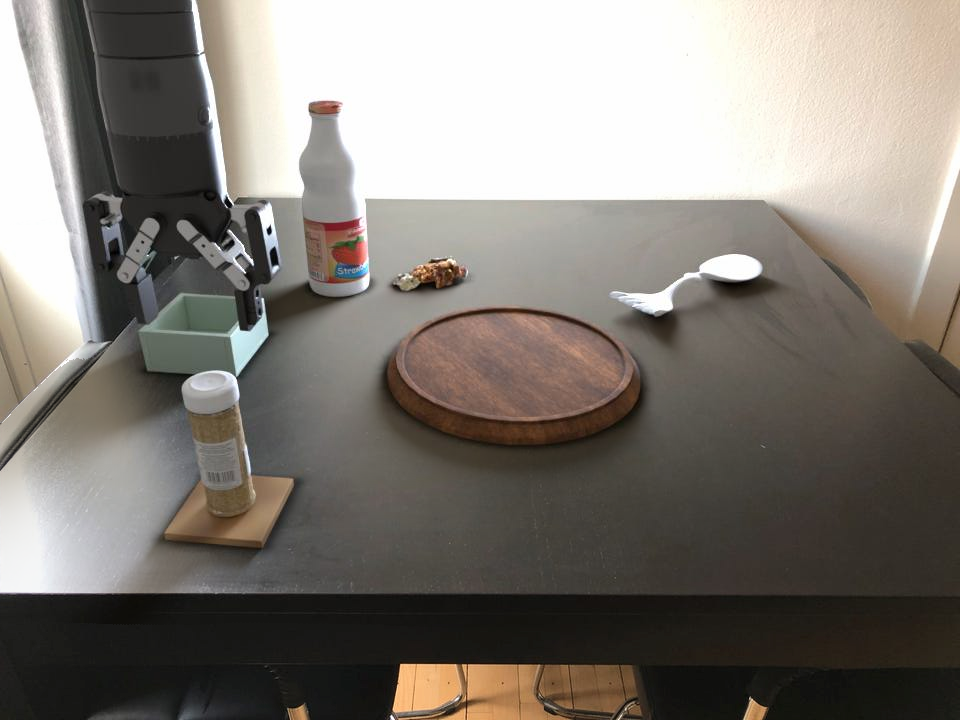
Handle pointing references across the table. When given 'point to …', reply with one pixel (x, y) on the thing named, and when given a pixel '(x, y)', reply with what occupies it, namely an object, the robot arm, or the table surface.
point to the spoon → (716, 268)
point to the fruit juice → (333, 206)
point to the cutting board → (514, 375)
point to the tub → (200, 336)
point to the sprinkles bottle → (219, 442)
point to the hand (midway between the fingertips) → (198, 323)
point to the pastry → (432, 274)
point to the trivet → (233, 530)
